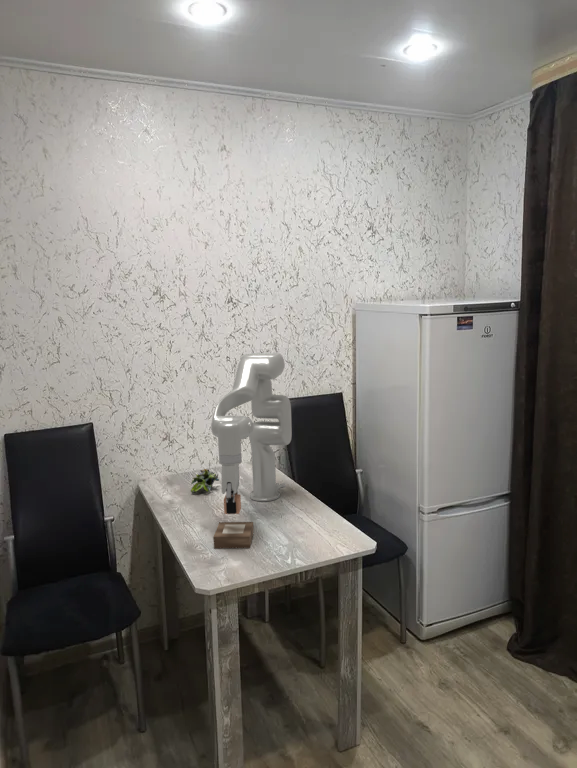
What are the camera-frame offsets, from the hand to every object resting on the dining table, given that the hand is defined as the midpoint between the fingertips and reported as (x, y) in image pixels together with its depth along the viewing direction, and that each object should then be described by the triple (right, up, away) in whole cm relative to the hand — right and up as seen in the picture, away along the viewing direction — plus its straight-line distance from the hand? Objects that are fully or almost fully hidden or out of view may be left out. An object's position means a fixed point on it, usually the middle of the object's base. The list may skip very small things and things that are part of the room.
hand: (232, 509), depth 189 cm
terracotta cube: (0, -1, 0) cm, 1 cm away
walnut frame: (0, -11, +2) cm, 11 cm away
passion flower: (-16, -4, +51) cm, 53 cm away
